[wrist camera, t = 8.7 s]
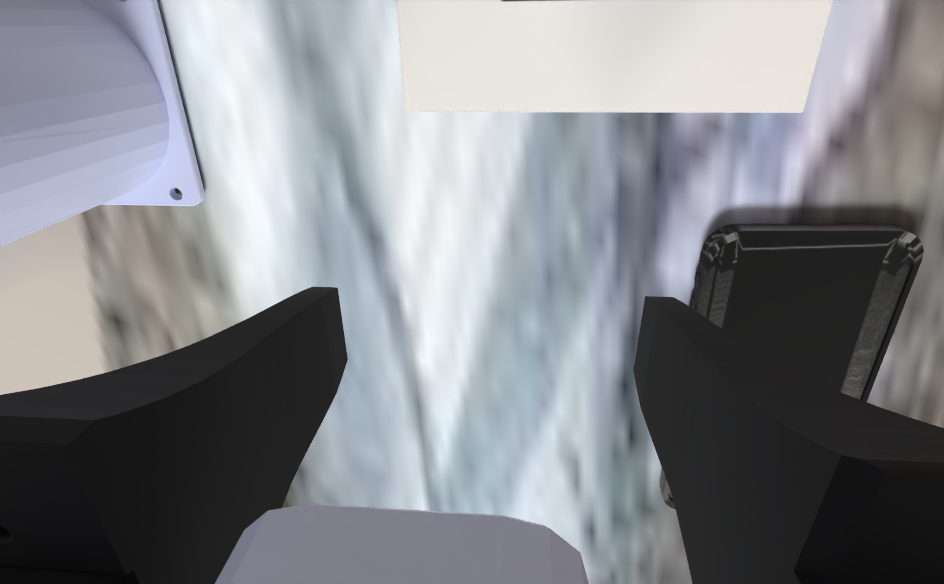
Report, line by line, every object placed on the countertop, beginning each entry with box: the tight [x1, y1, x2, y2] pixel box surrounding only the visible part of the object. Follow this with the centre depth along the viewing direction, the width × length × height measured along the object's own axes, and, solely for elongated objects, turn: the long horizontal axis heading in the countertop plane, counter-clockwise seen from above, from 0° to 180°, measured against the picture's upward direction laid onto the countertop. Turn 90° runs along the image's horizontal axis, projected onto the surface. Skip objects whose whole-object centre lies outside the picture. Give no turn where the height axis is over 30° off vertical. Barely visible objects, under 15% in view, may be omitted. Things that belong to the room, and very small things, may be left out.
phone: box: [660, 224, 924, 509], centre depth 23 cm, size 8×1×15 cm
